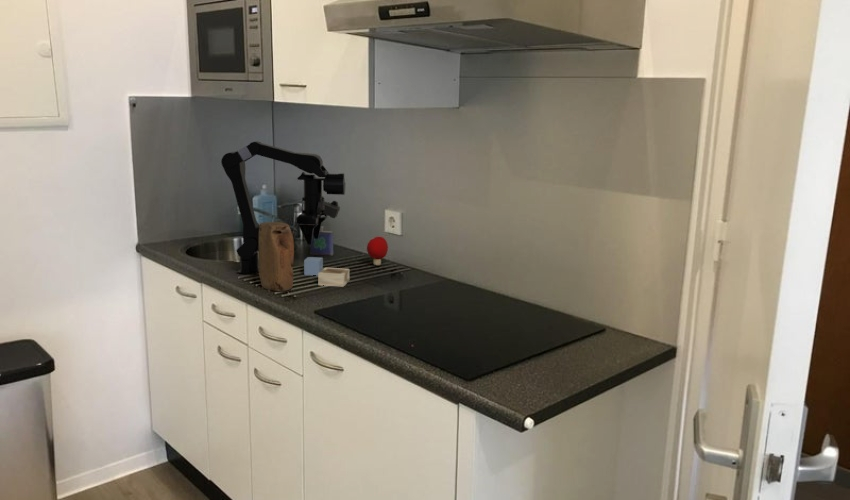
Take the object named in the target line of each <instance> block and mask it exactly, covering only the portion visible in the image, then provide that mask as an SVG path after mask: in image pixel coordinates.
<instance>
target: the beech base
mask: <svg viewBox="0 0 850 500" xmlns="http://www.w3.org/2000/svg"><path fill="white" fill-rule="evenodd" d="M350 272H351V271H350V268H341V267H340V268H339V267H338V268H337V267H323V270H322V271H320V272H319V273H318V276H317V277H318V279H317V281H318V283H317V285H318V286H323V285H324V286H327V287H341V288H343V287H344V286H346V285H347V284H348V283H349V281H350Z"/></svg>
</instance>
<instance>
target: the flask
mask: <svg viewBox="0 0 850 500" xmlns="http://www.w3.org/2000/svg"><path fill="white" fill-rule="evenodd" d="M324 227H325V226H322V225H321V229H320V233H319V237H318V239H315V238H314V235H313V238H312V244H309V254H310V255H315V256H323V257H324V256H325V257H326V256H327V257H331V256H332V257H333V256H334V231H331V230H324Z"/></svg>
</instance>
